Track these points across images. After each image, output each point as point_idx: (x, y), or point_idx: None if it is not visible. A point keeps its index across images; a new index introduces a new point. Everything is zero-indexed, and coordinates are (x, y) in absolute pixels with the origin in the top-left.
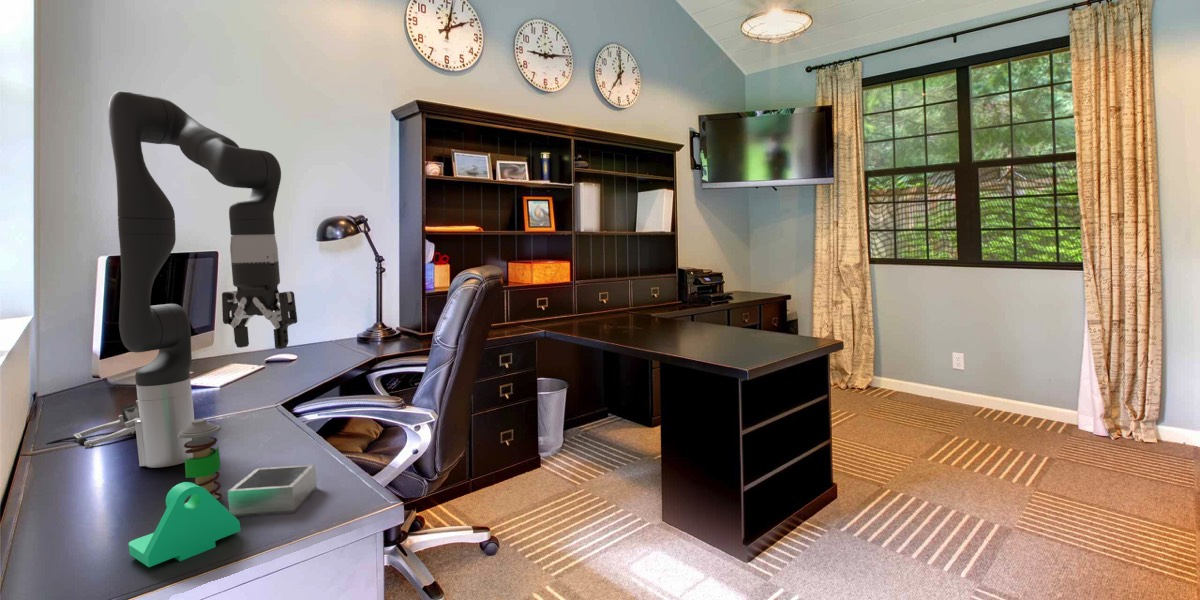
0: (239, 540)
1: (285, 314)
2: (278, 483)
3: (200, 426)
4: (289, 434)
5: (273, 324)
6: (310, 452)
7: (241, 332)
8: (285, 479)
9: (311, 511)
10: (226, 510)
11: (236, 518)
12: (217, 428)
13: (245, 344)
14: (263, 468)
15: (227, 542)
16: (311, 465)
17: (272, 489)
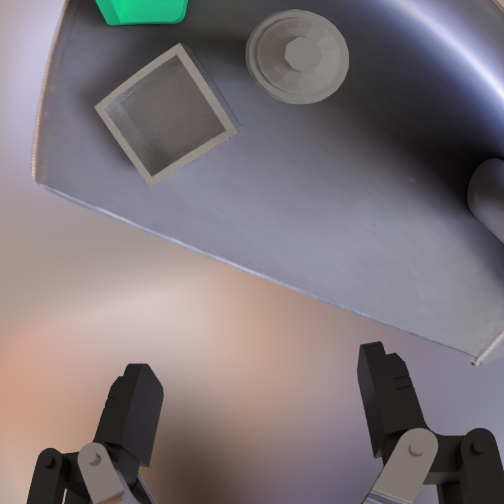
0: None
1: (35, 492)
2: (202, 141)
3: (277, 44)
4: (403, 311)
5: (108, 465)
6: (311, 274)
7: (376, 418)
8: (190, 149)
9: (97, 117)
10: (99, 6)
11: (105, 19)
12: (258, 78)
13: (360, 371)
14: (223, 137)
15: None
16: (151, 182)
17: (118, 87)
